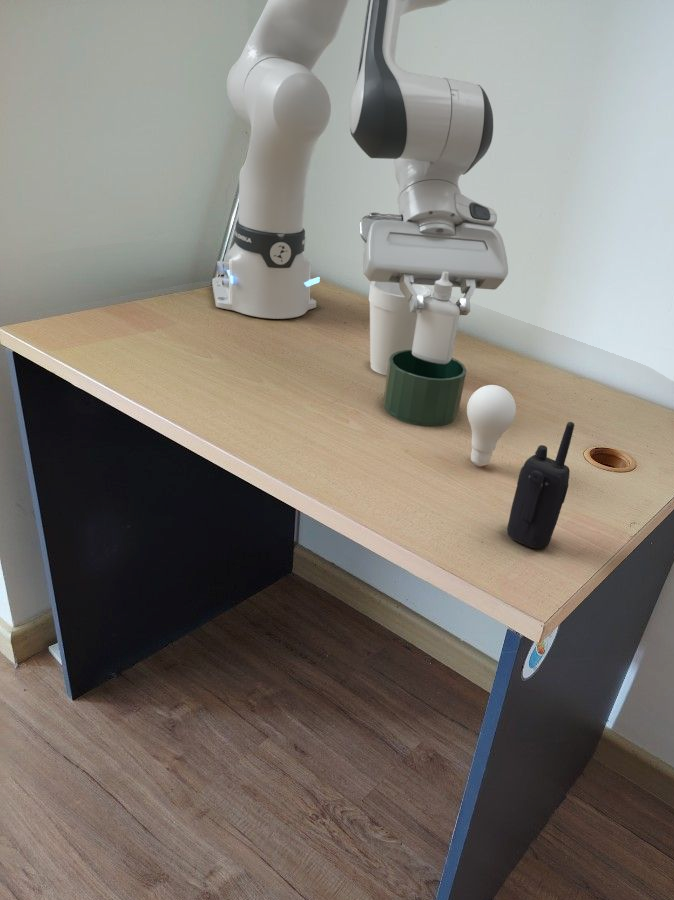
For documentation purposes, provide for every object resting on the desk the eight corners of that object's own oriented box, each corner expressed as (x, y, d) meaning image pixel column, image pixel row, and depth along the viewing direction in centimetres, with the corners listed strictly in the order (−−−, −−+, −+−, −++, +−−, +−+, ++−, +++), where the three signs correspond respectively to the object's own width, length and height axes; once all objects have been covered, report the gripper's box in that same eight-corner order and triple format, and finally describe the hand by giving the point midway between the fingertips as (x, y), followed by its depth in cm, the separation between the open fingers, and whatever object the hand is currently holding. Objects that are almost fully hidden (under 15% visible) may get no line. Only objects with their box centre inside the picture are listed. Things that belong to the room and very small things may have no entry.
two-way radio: (554, 544, 86) (591, 424, 77) (538, 560, 82) (574, 437, 74) (512, 524, 88) (543, 405, 80) (494, 539, 85) (524, 417, 76)
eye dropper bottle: (433, 368, 104) (448, 279, 98) (406, 353, 107) (419, 267, 101) (455, 363, 107) (472, 277, 100) (429, 349, 110) (443, 265, 103)
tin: (371, 395, 113) (376, 350, 109) (435, 391, 117) (443, 348, 114) (403, 429, 105) (410, 381, 101) (471, 423, 110) (480, 377, 106)
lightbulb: (463, 449, 102) (479, 372, 96) (506, 463, 101) (526, 385, 95) (449, 468, 97) (465, 388, 91) (494, 482, 96) (514, 402, 90)
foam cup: (382, 383, 117) (393, 299, 110) (349, 361, 123) (358, 279, 116) (430, 376, 122) (443, 295, 115) (396, 355, 128) (408, 277, 121)
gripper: (364, 197, 99) (372, 296, 97) (507, 212, 105) (518, 305, 103) (353, 224, 105) (361, 318, 103) (489, 237, 111) (499, 326, 109)
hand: (440, 312), depth 103 cm, fingers closed on eye dropper bottle, 5 cm apart
